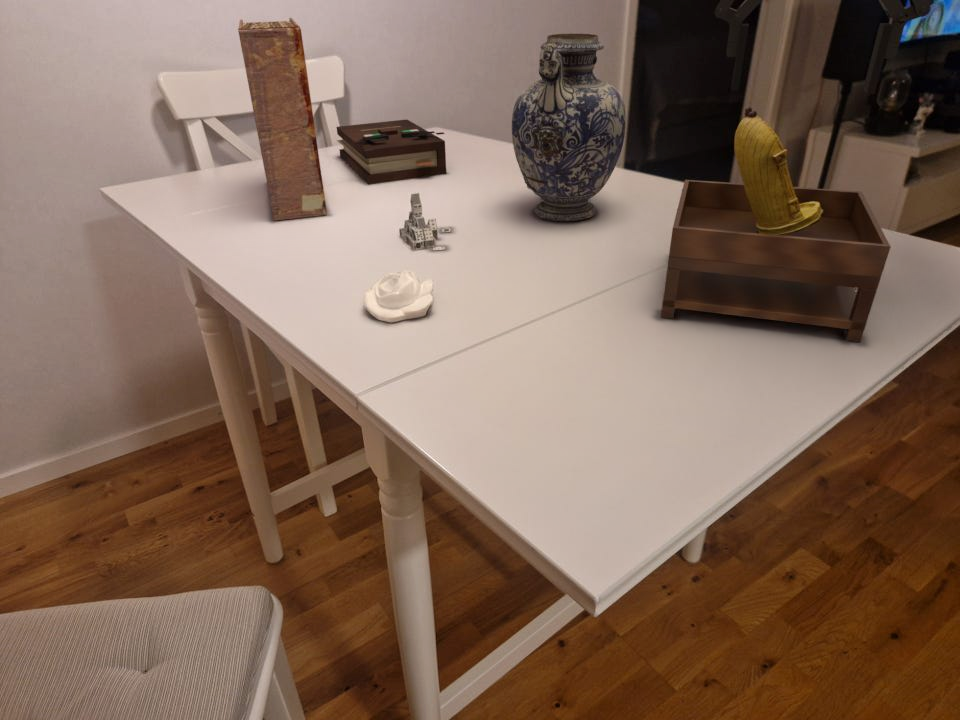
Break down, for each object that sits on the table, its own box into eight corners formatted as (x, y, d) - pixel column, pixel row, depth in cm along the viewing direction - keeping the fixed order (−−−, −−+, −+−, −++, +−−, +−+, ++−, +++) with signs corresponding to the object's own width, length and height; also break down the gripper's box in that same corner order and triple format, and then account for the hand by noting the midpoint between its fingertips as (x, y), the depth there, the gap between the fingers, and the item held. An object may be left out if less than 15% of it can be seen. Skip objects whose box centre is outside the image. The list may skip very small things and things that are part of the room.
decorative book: (408, 113, 157) (454, 138, 133) (410, 145, 161) (456, 175, 137) (328, 121, 150) (361, 149, 127) (332, 155, 154) (365, 188, 131)
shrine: (723, 245, 79) (746, 114, 71) (715, 222, 86) (735, 101, 78) (825, 250, 77) (861, 115, 69) (809, 226, 84) (839, 101, 76)
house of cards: (469, 245, 103) (467, 197, 99) (416, 254, 100) (412, 205, 96) (449, 227, 110) (446, 181, 106) (399, 235, 107) (394, 189, 103)
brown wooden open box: (838, 274, 90) (862, 191, 84) (860, 342, 74) (890, 246, 68) (673, 257, 97) (684, 179, 91) (660, 317, 80) (672, 227, 74)
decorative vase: (536, 190, 127) (539, 28, 113) (631, 200, 120) (648, 29, 106) (490, 224, 110) (488, 40, 96) (598, 239, 103) (612, 43, 89)
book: (270, 183, 135) (239, 19, 120) (315, 178, 137) (291, 17, 122) (274, 221, 114) (237, 29, 99) (327, 215, 116) (300, 26, 101)
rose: (454, 271, 83) (398, 297, 76) (455, 303, 85) (401, 331, 79) (399, 253, 88) (343, 276, 82) (401, 283, 91) (347, 308, 84)
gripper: (994, -157, 61) (921, 87, 72) (712, -137, 68) (685, 82, 79) (1021, -170, 55) (937, 99, 66) (709, -146, 62) (680, 93, 73)
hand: (799, 90), depth 73 cm, fingers open, 13 cm apart
